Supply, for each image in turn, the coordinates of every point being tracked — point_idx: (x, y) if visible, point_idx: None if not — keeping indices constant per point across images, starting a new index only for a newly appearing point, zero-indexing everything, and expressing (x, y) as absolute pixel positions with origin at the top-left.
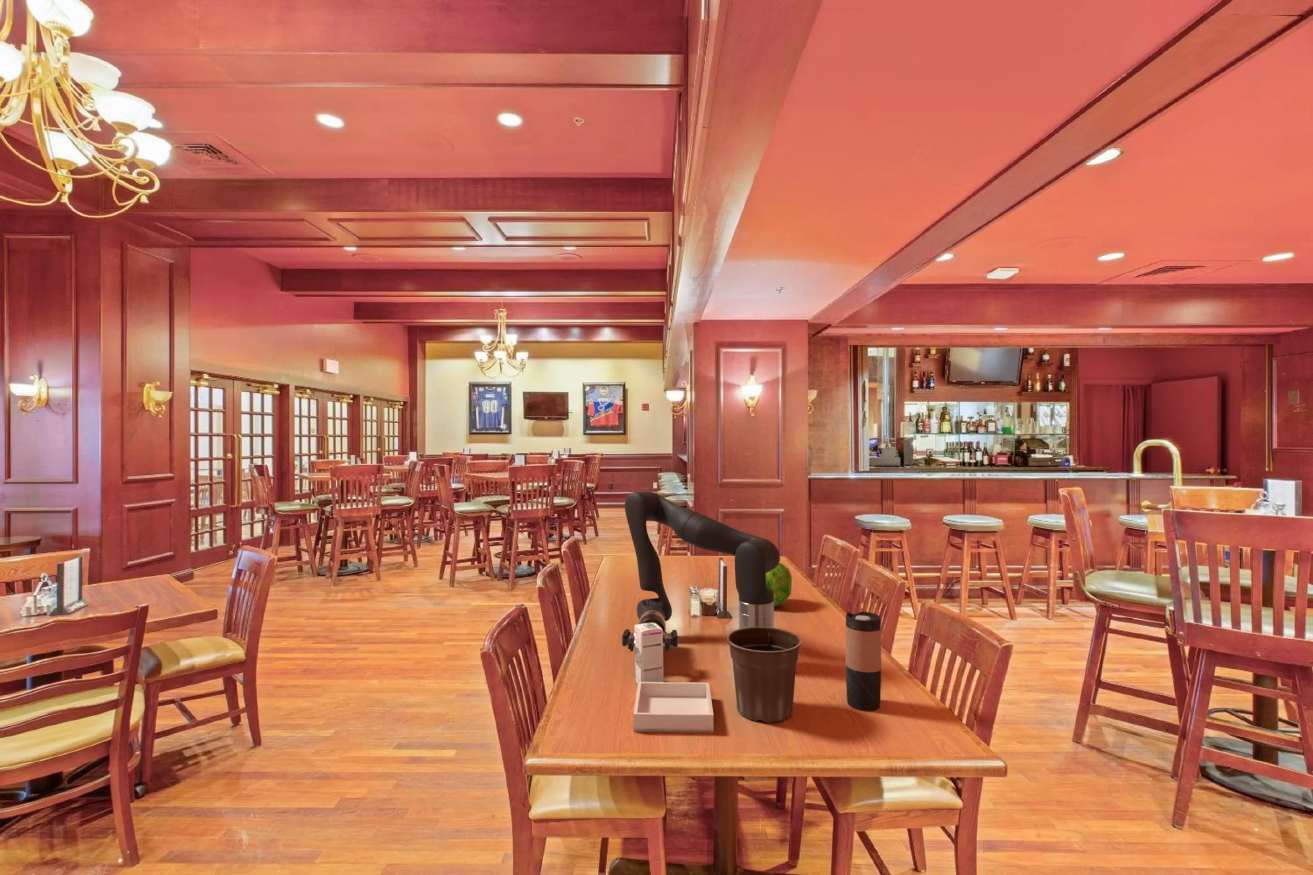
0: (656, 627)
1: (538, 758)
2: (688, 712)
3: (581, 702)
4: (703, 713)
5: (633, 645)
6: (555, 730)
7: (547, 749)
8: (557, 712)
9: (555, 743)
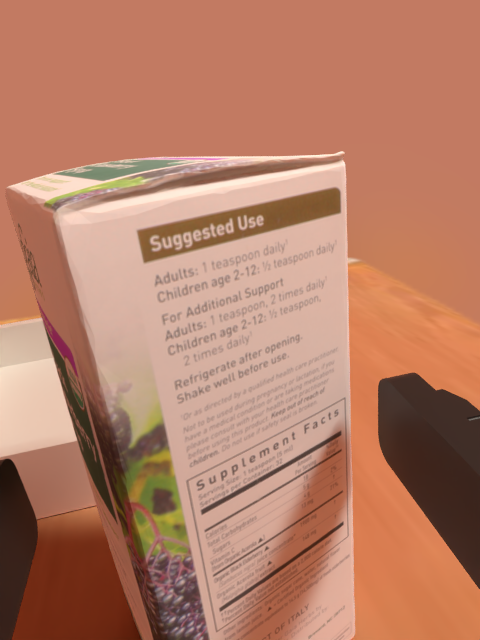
0: (64, 175)
1: (356, 260)
2: (40, 408)
3: (463, 382)
4: (5, 327)
5: (410, 452)
6: (399, 295)
7: (361, 270)
8: (476, 331)
9: (360, 279)
